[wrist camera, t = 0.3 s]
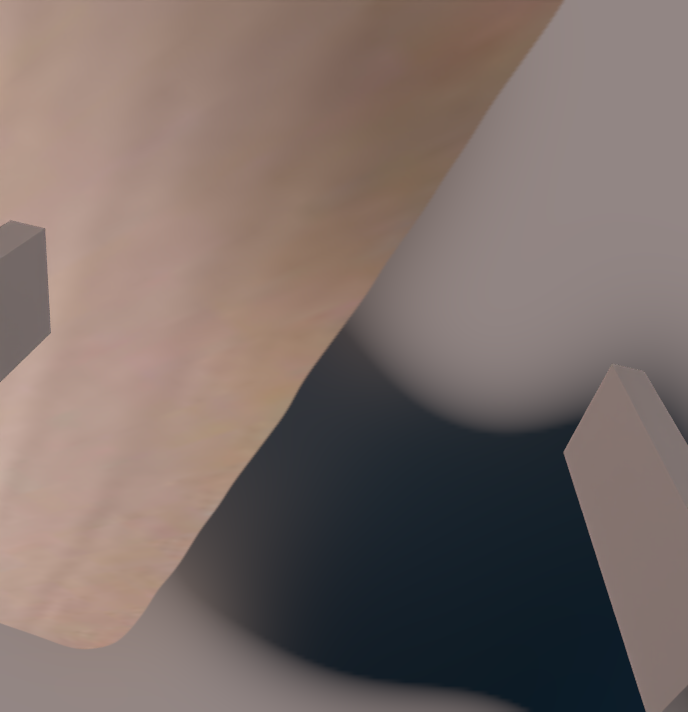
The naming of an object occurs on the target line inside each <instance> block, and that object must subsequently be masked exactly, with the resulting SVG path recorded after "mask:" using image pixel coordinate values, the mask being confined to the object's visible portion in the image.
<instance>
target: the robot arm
mask: <svg viewBox="0 0 688 712" xmlns="http://www.w3.org/2000/svg"><path fill="white" fill-rule="evenodd" d="M50 333H51V328H50V310H49V292H48V274H47V256H46V237H45V228H41V227H37V226H33V225H28V224H24V223H20V222H16V221H12V220H11V221H9V222H7V223H6V224H4V225H2V226H1V227H0V382H1V381H2V380H3V379H4V378H5V377H6V376H7V375H8V374H9V373H10V372H11V371H12V370H13V369H14V368H15V367H16V366H17V365H18V364H19V363H20V362H21V361H22V360H23V359H24V358H25V357H26V356H28V355H29V354H30V353H31V352H32V351H33V350H34V349H35V348H36V347H37V346H38V345H39V344H40V343H41V342H42V341H43V340H44V339H45V338H46V337H47V336H48V335H49V334H50ZM564 455H565V459H566V461H567V465H568V468H569V471H570V474H571V477H572V480H573V484H574V487H575V490H576V493H577V496H578V499H579V503H580V506H581V508H582V512H583V515H584V518H585V521H586V525H587V528H588V531H589V534H590V537H591V540H592V543H593V547H594V550H595V553H596V556H597V559H598V562H599V566H600V569H601V572H602V575H603V578H604V581H605V584H606V587H607V591H608V593H609V597H610V600H611V603H612V606H613V610H614V613H615V616H616V619H617V622H618V625H619V628H620V632H621V634H622V638H623V641H624V644H625V647H626V650H627V654H628V657H629V660H630V663H631V666H632V669H633V673H634V675H635V679H636V682H637V685H638V688H639V691H640V694H641V697H642V701H643V704H644V707H645V710H646V712H688V445H687V443H686V442H685V440H684V438H683V437H682V435H681V433H680V432H679V430H678V428H677V426H676V425H675V423H674V422H673V420H672V418H671V416H670V415H669V413H668V412H667V410H666V408H665V406H664V404H663V403H662V401H661V399H660V398H659V396H658V394H657V392H656V391H655V389H654V387H653V386H652V384H651V382H650V381H649V379H648V377H647V376H646V374H645V372H644V371H641V370H637V369H633V368H628V367H624V366H620V365H616V364H612V365H611V366H610V368H609V370H608V372H607V374H606V376H605V377H604V379H603V381H602V383H601V385H600V386H599V388H598V390H597V392H596V394H595V396H594V397H593V399H592V401H591V403H590V405H589V407H588V408H587V410H586V412H585V414H584V416H583V418H582V419H581V421H580V423H579V425H578V427H577V428H576V430H575V432H574V434H573V436H572V438H571V439H570V441H569V443H568V445H567V447H566V449H565V450H564Z"/></svg>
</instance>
